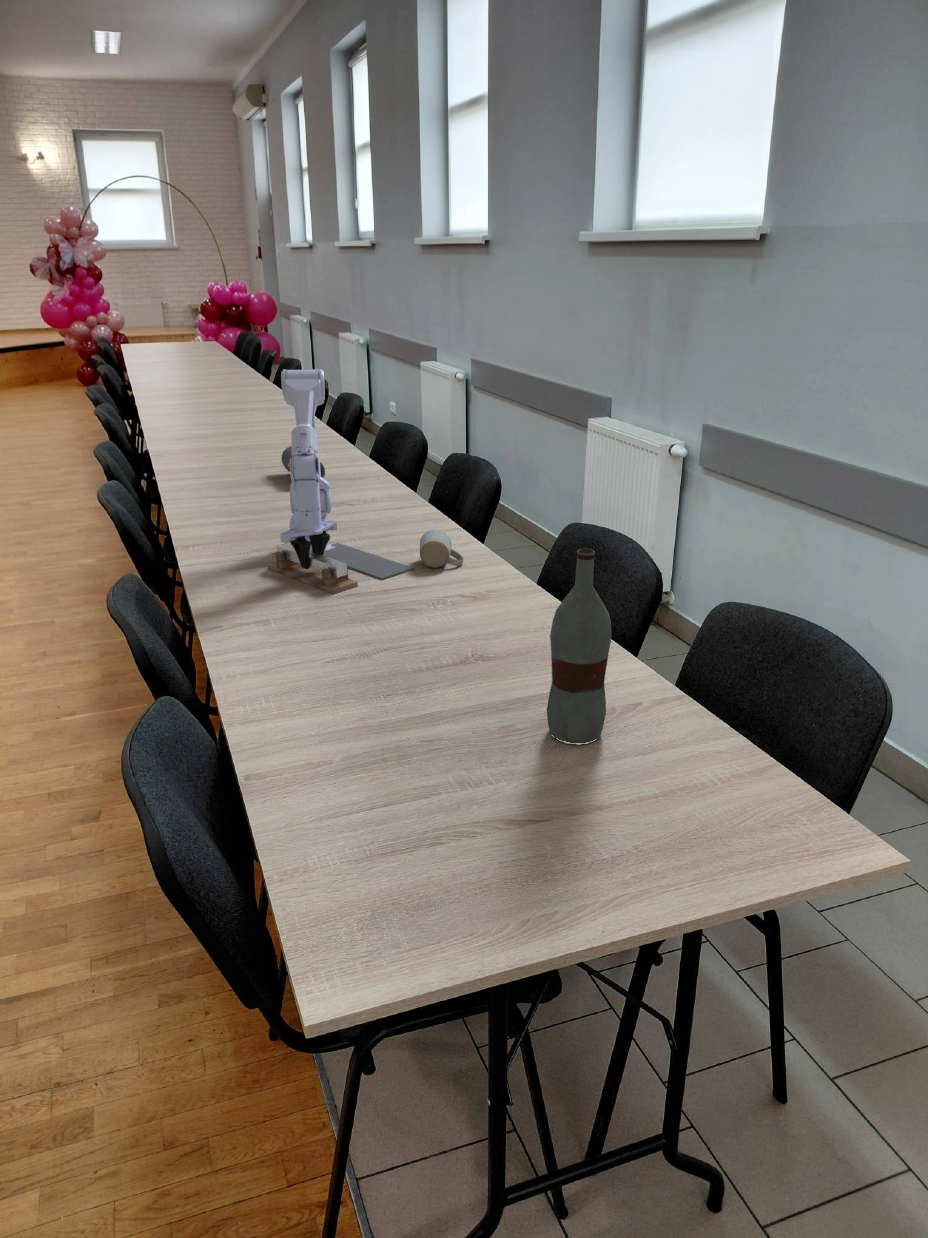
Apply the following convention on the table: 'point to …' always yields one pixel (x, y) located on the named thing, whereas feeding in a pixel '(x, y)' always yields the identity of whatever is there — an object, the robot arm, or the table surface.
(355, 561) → the rubber mat
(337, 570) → the steel rail
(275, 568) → the walnut standards
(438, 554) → the ceramic mug
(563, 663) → the bottle
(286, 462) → the bluetooth speaker
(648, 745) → the table surface
